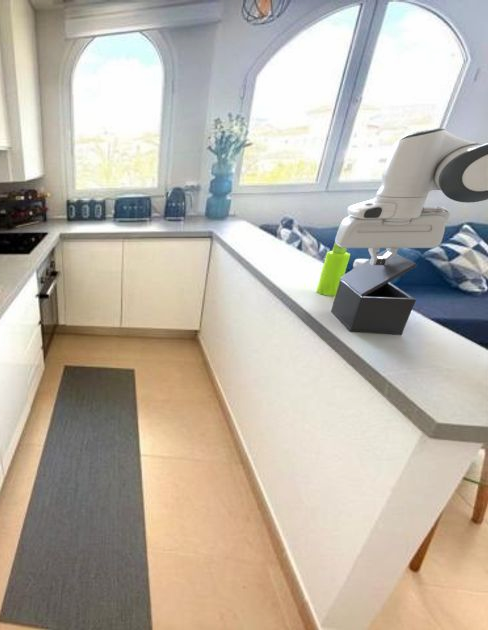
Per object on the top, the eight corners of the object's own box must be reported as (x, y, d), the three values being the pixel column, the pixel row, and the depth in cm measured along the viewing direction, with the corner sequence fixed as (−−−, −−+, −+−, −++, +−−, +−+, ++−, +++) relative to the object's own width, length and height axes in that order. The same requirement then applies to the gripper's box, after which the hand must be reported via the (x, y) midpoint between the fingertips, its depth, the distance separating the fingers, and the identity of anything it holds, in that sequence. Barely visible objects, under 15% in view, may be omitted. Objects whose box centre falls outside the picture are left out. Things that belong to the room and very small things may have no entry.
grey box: (376, 313, 97) (388, 281, 93) (401, 334, 86) (416, 299, 82) (330, 311, 100) (340, 279, 96) (349, 331, 89) (361, 297, 85)
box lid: (388, 250, 90) (386, 248, 90) (418, 265, 79) (416, 263, 79) (341, 279, 96) (339, 277, 96) (362, 296, 85) (360, 294, 85)
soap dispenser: (339, 298, 107) (359, 234, 99) (314, 292, 112) (330, 231, 104) (344, 292, 111) (363, 230, 102) (319, 287, 116) (335, 228, 107)
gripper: (443, 204, 80) (421, 261, 86) (340, 207, 86) (326, 260, 92) (462, 208, 75) (437, 269, 81) (351, 211, 80) (336, 267, 86)
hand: (377, 264), depth 86 cm, fingers closed
